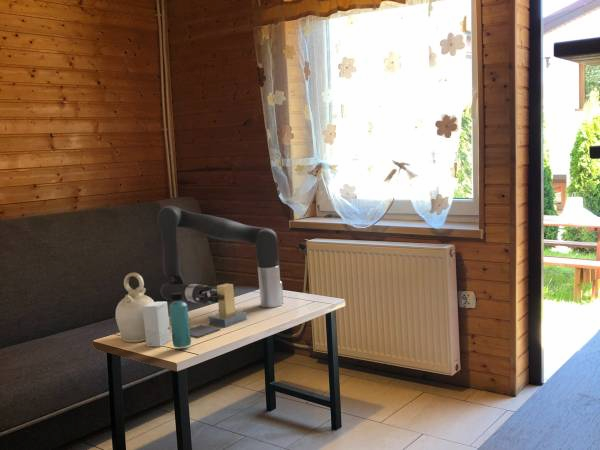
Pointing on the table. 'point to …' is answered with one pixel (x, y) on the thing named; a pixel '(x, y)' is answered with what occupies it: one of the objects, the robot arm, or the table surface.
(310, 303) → the table surface
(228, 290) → the tall wooden pillar
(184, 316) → the beverage bottle
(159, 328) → the skincare box
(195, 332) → the flat gray metal plate
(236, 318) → the grey metal rectangular block
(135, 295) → the jug
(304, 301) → the table surface
